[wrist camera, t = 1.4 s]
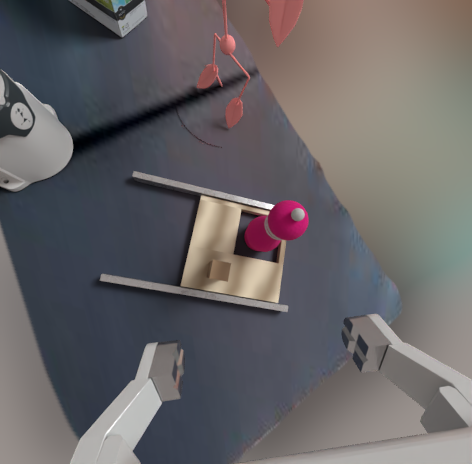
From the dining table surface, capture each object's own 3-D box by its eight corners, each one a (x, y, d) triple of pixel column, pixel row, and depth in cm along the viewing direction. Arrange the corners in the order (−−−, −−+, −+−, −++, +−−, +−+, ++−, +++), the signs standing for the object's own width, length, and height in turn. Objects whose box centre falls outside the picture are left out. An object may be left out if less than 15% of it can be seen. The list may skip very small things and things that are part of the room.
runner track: (104, 280, 40) (99, 280, 38) (136, 175, 45) (133, 170, 43) (283, 310, 46) (287, 312, 43) (295, 213, 50) (299, 211, 48)
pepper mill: (263, 259, 47) (312, 250, 28) (236, 242, 46) (265, 220, 27) (278, 232, 49) (333, 205, 29) (252, 215, 48) (290, 177, 29)
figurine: (205, 57, 54) (217, -310, 20) (263, 140, 52) (382, -97, 18) (150, 79, 50) (47, -322, 16) (210, 169, 49) (238, -59, 15)
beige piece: (180, 285, 43) (176, 289, 32) (201, 197, 47) (203, 176, 37) (275, 302, 45) (298, 310, 35) (286, 217, 50) (310, 203, 39)
